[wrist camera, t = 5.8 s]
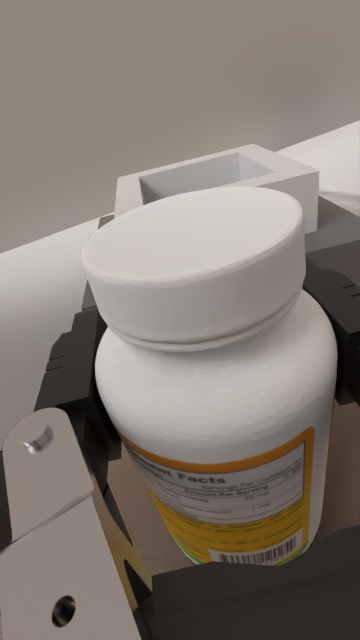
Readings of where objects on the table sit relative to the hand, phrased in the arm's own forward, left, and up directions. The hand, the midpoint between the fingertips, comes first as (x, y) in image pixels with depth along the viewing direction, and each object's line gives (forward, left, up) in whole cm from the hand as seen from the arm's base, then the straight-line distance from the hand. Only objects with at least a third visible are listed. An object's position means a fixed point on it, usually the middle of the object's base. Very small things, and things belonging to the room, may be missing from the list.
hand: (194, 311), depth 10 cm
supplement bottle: (0, -3, -6) cm, 7 cm away
